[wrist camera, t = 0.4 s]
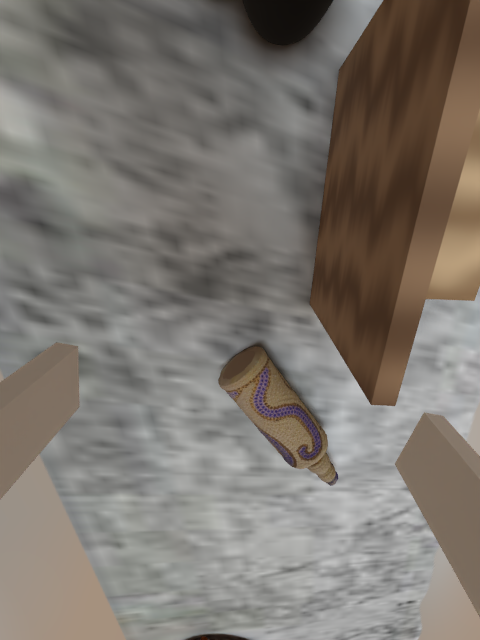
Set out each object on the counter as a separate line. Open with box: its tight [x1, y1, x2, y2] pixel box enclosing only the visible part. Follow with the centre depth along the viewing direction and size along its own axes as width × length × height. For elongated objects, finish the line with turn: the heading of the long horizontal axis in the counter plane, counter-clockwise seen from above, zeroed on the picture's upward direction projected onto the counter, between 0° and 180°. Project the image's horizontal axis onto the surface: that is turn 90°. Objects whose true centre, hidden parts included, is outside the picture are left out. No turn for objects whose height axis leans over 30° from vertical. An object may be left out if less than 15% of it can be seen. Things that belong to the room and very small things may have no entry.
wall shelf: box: [310, 0, 480, 406], centre depth 22 cm, size 24×16×20 cm, turn 178°
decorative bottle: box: [218, 346, 338, 486], centre depth 40 cm, size 26×8×7 cm, turn 35°
